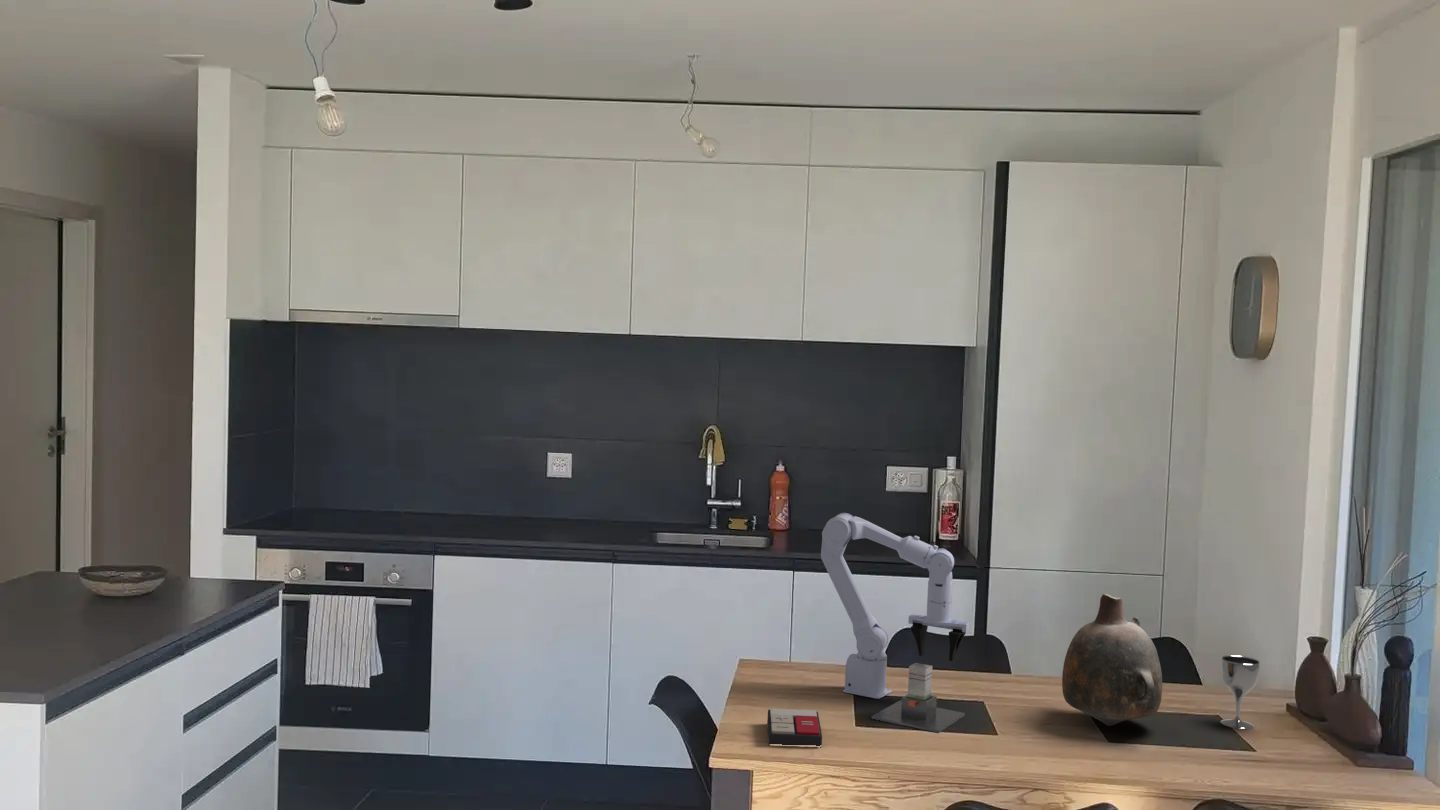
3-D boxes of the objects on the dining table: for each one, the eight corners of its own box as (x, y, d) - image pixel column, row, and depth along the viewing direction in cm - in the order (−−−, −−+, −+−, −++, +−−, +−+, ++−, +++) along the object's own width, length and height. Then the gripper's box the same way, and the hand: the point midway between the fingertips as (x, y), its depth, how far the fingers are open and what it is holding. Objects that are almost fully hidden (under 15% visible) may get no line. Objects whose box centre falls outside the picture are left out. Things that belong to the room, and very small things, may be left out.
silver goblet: (1256, 722, 279) (1259, 658, 278) (1255, 731, 272) (1259, 665, 271) (1219, 716, 282) (1222, 653, 282) (1217, 725, 275) (1221, 660, 274)
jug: (1181, 728, 272) (1188, 596, 271) (1141, 748, 256) (1148, 609, 255) (1080, 704, 289) (1086, 580, 287) (1036, 721, 273) (1043, 590, 272)
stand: (871, 718, 271) (872, 698, 270) (899, 702, 284) (900, 683, 284) (938, 732, 262) (939, 712, 262) (964, 715, 276) (965, 695, 276)
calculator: (769, 730, 249) (767, 705, 264) (768, 750, 249) (767, 724, 264) (822, 732, 249) (818, 707, 264) (821, 752, 249) (817, 726, 264)
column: (907, 701, 272) (908, 666, 272) (914, 697, 276) (915, 662, 276) (924, 704, 270) (925, 669, 270) (931, 700, 274) (932, 665, 273)
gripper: (974, 602, 286) (972, 659, 286) (917, 594, 293) (915, 649, 294) (964, 607, 280) (961, 665, 280) (905, 598, 287) (903, 655, 288)
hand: (937, 657), depth 287 cm, fingers open, 7 cm apart
